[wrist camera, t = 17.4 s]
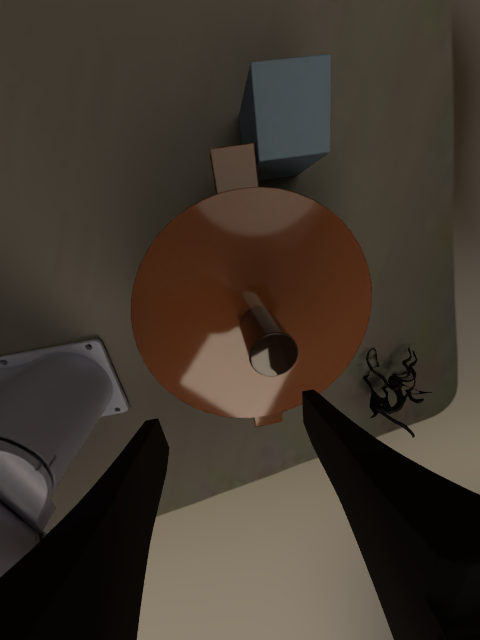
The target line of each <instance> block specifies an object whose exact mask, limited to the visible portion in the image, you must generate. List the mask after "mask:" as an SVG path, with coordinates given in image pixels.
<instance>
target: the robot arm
mask: <svg viewBox="0 0 480 640" xmlns="http://www.w3.org/2000/svg"><path fill="white" fill-rule="evenodd" d="M88 344H90V345H91V346H92V347H89V346H88ZM4 360H6V361H7V362H5V361H4ZM302 403H303V422H304V425H305V428H306V430H307V433H308V436H309V438H310V441H311V443H312V445H313V447H314V449H315V451H316V453H317V455H318V457H319V459H320V461H321V463H322V465H323V467H324V469H325V471H326V473H327V475H328V477H329V479H330V481H331V483H332V485H333V487H334V489H335V491H336V493H337V495H338V497H339V500H340V502H341V504H342V506H343V509H344V511H345V514H346V516H347V519H348V521H349V523H350V526H351V528H352V531H353V533H354V536H355V538H356V541H357V543H358V545H359V548H360V551H361V553H362V556H363V558H364V561H365V563H366V566H367V569H368V571H369V574H370V577H371V579H372V582H373V584H374V587H375V590H376V592H377V595H378V598H379V600H380V603H381V606H382V608H383V611H384V614H385V616H386V619H387V622H388V624H389V627H390V630H391V633H392V635H393V638H394V640H480V495H479V494H477V493H474V492H472V491H470V490H468V489H466V488H464V487H462V486H460V485H458V484H456V483H453V482H451V481H450V480H448V479H445V478H444V477H442V476H440V475H438V474H436V473H434V472H432V471H430V470H428V469H426V468H425V467H423V466H421V465H419V464H417V463H416V462H414V461H412V460H410V459H408V458H406V457H405V456H403V455H402V454H400V453H398V452H397V451H395V450H393V449H392V448H390V447H389V446H387V445H385V444H384V443H382V442H381V441H379V440H378V439H376V438H375V437H373V436H372V435H370V434H369V433H368V432H366V431H365V430H364V429H362V428H361V427H359V426H358V425H357V424H355V423H354V422H353V421H351V420H350V419H349V418H348V417H346V416H345V415H344V414H343V413H341V412H340V411H339V410H338V409H336V408H335V407H334V406H333V405H332V404H331V403H329V402H328V401H327V400H326V399H325V398H324V397H322V396H321V395H320V394H319V393H318V392H317V391H315V390H314V389H312V390H307V391H302ZM118 408H120V409H118ZM128 409H129V404H128V402H127V399H126V397H125V395H124V392H123V390H122V388H121V385H120V383H119V380H118V378H117V376H116V373H115V371H114V369H113V366H112V364H111V362H110V359H109V357H108V355H107V352H106V350H105V348H104V345H103V343H102V342H101V341H100V340H99V339H91V340H85V341H80V342H74V343H69V344H63V345H58V346H52V347H47V348H41V349H36V350H30V351H25V352H19V353H14V354H8V355H3V356H0V640H137V631H138V623H139V616H140V607H141V601H142V593H143V586H144V579H145V572H146V565H147V559H148V553H149V547H150V541H151V536H152V531H153V527H154V522H155V518H156V514H157V510H158V506H159V502H160V497H161V493H162V489H163V485H164V480H165V476H166V471H167V464H168V455H169V446H168V443H167V441H166V438H165V435H164V433H163V430H162V427H161V425H160V422H159V419H153V420H147V421H145V422H144V424H143V425H142V426H141V427H140V429H139V430H138V431H137V433H136V434H135V435H134V437H133V438H132V439H131V440H130V442H129V443H128V444H127V446H126V447H125V448H124V450H123V451H122V452H121V453H120V455H119V456H118V457H117V458H116V460H115V461H114V462H113V463H112V465H111V466H110V467H109V468H108V469H107V471H106V472H105V473H104V474H103V475H102V477H101V478H100V479H99V480H98V481H97V482H96V484H95V485H94V486H93V487H92V488H91V489H90V491H89V492H88V493H87V494H86V495H85V496H84V497H83V498H82V499H81V500H80V502H79V503H78V504H77V505H76V506H75V507H74V508H73V509H72V510H71V511H70V512H69V513H68V514H67V515H66V516H65V517H64V518H63V519H62V520H61V521H60V522H59V523H58V524H57V525H56V526H55V527H54V528H53V529H52V530H51V531H50V532H49V533H48V534H46V533H45V532H44V531H43V530H44V528H45V526H46V525H47V523H48V521H49V519H50V518H51V516H52V514H53V512H54V511H55V509H56V507H55V506H54V505H53V503H52V501H51V496H52V494H53V493H54V491H55V489H56V488H57V486H58V485H59V483H60V481H61V480H62V478H63V477H64V475H65V473H66V472H67V470H68V468H69V467H70V465H71V464H72V462H73V460H74V459H75V457H76V456H77V454H78V452H79V451H80V449H81V447H82V446H83V444H84V443H85V441H86V439H87V438H88V436H89V435H90V433H91V431H92V430H93V428H94V426H95V425H96V423H97V422H98V420H99V418H100V417H103V416H108V415H113V414H118V413H123V412H126V411H127V410H128Z"/></svg>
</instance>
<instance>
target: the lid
mask: <svg viewBox="0 0 480 640" xmlns="http://www.w3.org/2000/svg"><path fill="white" fill-rule="evenodd" d="M371 304H372V287H371V279H370V273H369V269H368V265H367V262H366V259H365V256H364V254H363V252H362V249H361V247H360V245H359V243H358V242H357V240H356V239H355V237H354V235H353V234H352V232H351V231H350V230H349V229H348V227H347V226H346V225H345V224H344V223H343V222H342V220H341V219H340V218H338V217H337V216H336V215H335V214H334V213H333V212H331V211H330V210H329V209H328V208H326V207H325V206H323V205H321V204H320V203H318V202H316V201H315V200H313V199H311V198H309V197H306V196H304V195H301V194H299V193H296V192H292V191H288V190H284V189H280V188H271V187H247V188H238V189H234V190H229V191H225V192H221V193H218V194H216V195H213V196H211V197H208V198H205V199H203V200H201V201H199V202H198V203H196V204H194V205H193V206H191V207H189V208H187V209H186V210H184V211H183V212H182V213H181V214H179V215H178V216H177V217H176V218H174V219H173V220H172V221H171V222H170V223H169V224H168V225H167V226H166V227H165V228H164V229H163V230H162V231H161V232H160V233H159V234H158V236H157V237H156V238H155V240H154V241H153V243H152V244H151V246H150V247H149V249H148V250H147V252H146V254H145V256H144V258H143V260H142V262H141V264H140V266H139V269H138V272H137V275H136V278H135V281H134V286H133V292H132V298H131V320H132V328H133V333H134V337H135V340H136V344H137V347H138V350H139V352H140V354H141V356H142V358H143V361H144V362H145V364H146V365H147V367H148V369H149V370H150V372H151V373H152V374H153V376H154V377H155V378H156V379H157V380H158V382H159V383H160V384H161V385H162V386H163V387H164V388H165V389H167V390H168V391H169V392H170V393H171V394H173V395H174V396H175V397H177V398H178V399H180V400H181V401H183V402H185V403H186V404H188V405H190V406H192V407H194V408H196V409H199V410H201V411H204V412H207V413H211V414H214V415H218V416H224V417H231V418H257V417H263V416H269V415H273V414H277V413H281V412H284V411H287V410H289V409H292V408H295V407H297V406H299V405H301V404H303V403H302V391H307V390H312V389H314V390H315V391H317V392H318V393H321V392H322V391H323V390H325V389H326V388H327V387H328V386H329V385H331V384H332V383H333V382H334V381H335V380H336V379H337V378H338V377H339V376H340V374H341V373H342V372H343V371H344V370H345V369H346V367H347V366H348V365H349V363H350V362H351V360H352V359H353V357H354V356H355V354H356V352H357V350H358V348H359V347H360V345H361V342H362V340H363V337H364V335H365V332H366V329H367V325H368V322H369V318H370V311H371Z"/></svg>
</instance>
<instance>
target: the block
mask: <svg viewBox="0 0 480 640" xmlns="http://www.w3.org/2000/svg"><path fill="white" fill-rule="evenodd" d="M330 91H331V54H324V55H315V56H305V57H296V58H286V59H277V60H267V61H257V62H251V63H250V67H249V72H248V76H247V81H246V85H245V90H244V94H243V99H242V103H241V108H240V112H239V124H240V133H241V142H242V144H248V143H254V147H255V156H256V166H257V176H258V181H261V180H268V179H275V178H282V177H290V176H297V175H298V174H300V173H301V172H303V171H304V170H305V169H307V168H308V167H310V166H311V165H312V164H314V163H315V162H317V161H318V160H319V159H321V158H322V157H324V156H325V155H326V154H328V153H329V152H330Z"/></svg>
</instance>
